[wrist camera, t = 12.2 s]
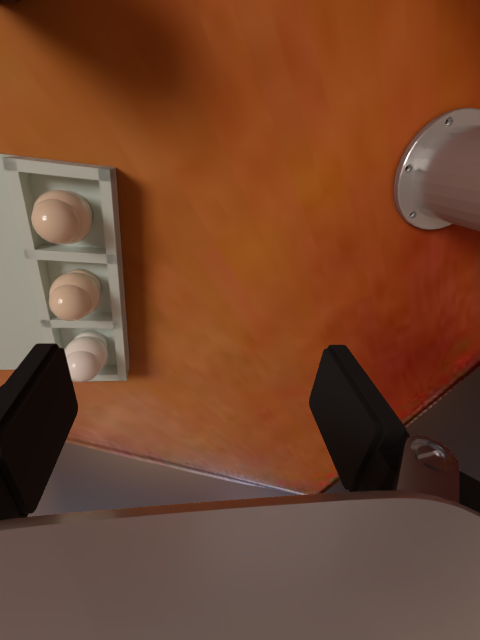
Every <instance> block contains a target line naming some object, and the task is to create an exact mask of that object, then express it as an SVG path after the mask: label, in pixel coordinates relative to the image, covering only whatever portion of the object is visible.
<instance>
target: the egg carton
mask: <svg viewBox="0 0 480 640" xmlns="http://www.w3.org/2000/svg"><path fill="white" fill-rule="evenodd" d="M52 190H64V191H72V192H75V193H78V194H80V195H81V196H83V197H84V198H85V199H86V200H87V201H88V202H89V204H90V205H91V207H92V210H93V214H94V218H93V222H92V227H91V230H90V232H89V234H88V235H87V236H86V237H85V238H84V239H83V240H81V241H80V242H77V243H74V244H55V243H51V242H49V241H47V240H45V239H43V238H42V237H41V236H40V235H39V234H38V233H37V232H36V231H35V229H34V227H33V225H32V220H31V216H32V211H33V206H34V203H35V202H36V200H37V199H38V197H39V196H41V195H42V194H44V193H45V192H48V191H52ZM73 269H86V270H88V271H91V272H92V273H94V274H95V275H96V276H97V277H98V278H99V280H100V282H101V286H102V289H101V299H100V303H99V305H98V307H97V308H96V309H95V310H94V311H93V312H92V313H91V314H89V315H87V316H85V317H83V318H82V319H79V320H76V321H66V320H62V319H60V318H58V317H57V316H56V315H55V314H54V313H53V312H52V311H51V309H50V306H49V298H50V297H49V291H50V287H51V285H52V283H53V282H54V281H55V280H56V279H57V278H58V277H59V276H61V275H63V274H66V273H68V272H69V271H71V270H73ZM87 330H92V331H96V332H99V333H101V334H102V335H104V336H105V337H106V339H107V341H108V349H107V351H108V360H107V363H106V365H105V366H104V368H103V369H102V370H101V371H100V372H98V374H97V375H96V376H95V377H94V378H93V379H91V380H89V381H127V377H128V372H129V368H130V360H129V346H128V332H127V318H126V304H125V290H124V276H123V262H122V248H121V234H120V220H119V206H118V192H117V178H116V167H109V166H101V165H92V164H84V163H75V162H67V161H58V160H50V159H42V158H33V157H25V156H16V155H8V154H0V370H10V369H17V367H18V366H19V365H20V363H21V362H22V361H23V360H24V358H25V357H26V356H27V354H28V353H29V352H30V351H31V349H32V348H33V347H34V346H35V345H36V344H38V343H55V344H57V345H58V346H59V348H63V349H64V350H65V348H66V346H67V345H68V344H69V343H70V342H71V341H72V340H74V338H75V337H76V335H77V334H78V333H80V332H82V331H87ZM72 381H73V380H72Z"/></svg>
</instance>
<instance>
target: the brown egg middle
mask: <svg viewBox="0 0 480 640" xmlns="http://www.w3.org/2000/svg"><path fill="white" fill-rule="evenodd" d="M101 289H102V286H101V282H100V280H99V278H98V277H97V276H96V275H95V274H94V273H92V272H91V271H88V270H86V269H73V270H71V271H69V272H68V273H66V274H63V275H61V276H59V277H58V278H57V279H56V280H55V281H54V282H53V283H52V285H51V287H50V291H49V297H50V298H49V306H50V309H51V311H52V312H53V313H54V314H55V315H56V316H57V317H58V318H60V319H62V320H66V321H76V320H79V319H82V318H83V317H85V316H87V315H89V314H91V313H92V312H93V311H94V310H95V309H96V308H97V307H98V305H99V303H100V299H101Z"/></svg>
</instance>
